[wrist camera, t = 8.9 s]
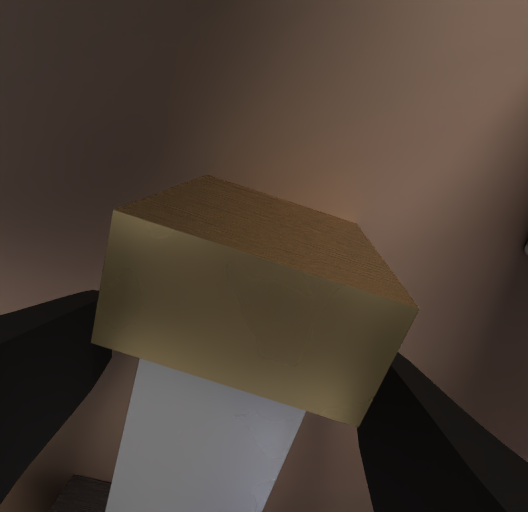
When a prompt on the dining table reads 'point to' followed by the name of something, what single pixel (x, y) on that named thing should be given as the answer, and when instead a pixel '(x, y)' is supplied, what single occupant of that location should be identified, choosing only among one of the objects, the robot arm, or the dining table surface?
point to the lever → (237, 338)
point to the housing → (83, 496)
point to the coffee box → (526, 248)
